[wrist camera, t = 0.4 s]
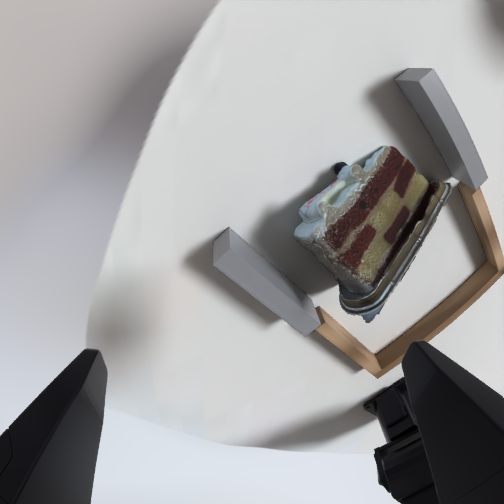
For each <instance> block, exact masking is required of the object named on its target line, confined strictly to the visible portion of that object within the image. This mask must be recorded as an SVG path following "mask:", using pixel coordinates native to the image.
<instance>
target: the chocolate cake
mask: <svg viewBox="0 0 504 504" xmlns="http://www.w3.org/2000/svg"><path fill="white" fill-rule="evenodd" d="M334 171H335V173H336V175H337V180H336V181H335V182H333V183H332V184H331V185H329V186H328V187H327V188H326V189H324V190H323V191H322V192H320V193H319V194H317V195H316V196H314V197H313V198H311V199H310V200H309V201H307V202H306V203H305V204H304V205H303V206H301V208H300V209H299V215H300V217H301V218H302V220H303V221H302V223H301V224H299V225H298V226H297V227H296V229H295V231H294V238H295V239H296V240H297V241H298V242H299V243H300V244H301V245H302V246H303V247H305V248H306V249H307V250H310V251H311V252H312V253H313V254H314V255H315V256H316V257H317V258H318V259H319V261H320V262H321V263H322V264H324V265H325V266H326V268H327V269H329V270H330V271H331V272H332V273H333V274H334V275H335V279H336V280H337V281H338V283H339V291H340V295H339V300H340V305H341V307H342V309H343V310H344V311H345V312H347V314H351V315H361V316H362V317H363V320H365V322H366V323H370V322H371V321H372V320H373V319H374V318H375V315H376V314H379V313H380V311H381V309H382V307H383V306H384V304H385V302H386V301H387V299H388V297H389V296H390V294H391V293H392V292H393V291H394V289H395V287H396V286H397V285H398V283H399V281H400V282H401V280H402V278H403V276H404V275H405V273H406V272H407V270H408V269H409V267H410V265H411V263H412V261H413V260H414V259H415V257H416V256H415V255H416V254H417V252H418V251H419V249H420V247H421V246H422V243H423V242H424V239H425V238H426V236H427V235H428V233H429V232H430V230H431V229H432V227H433V225H434V223H435V222H436V220H437V218H436V217H437V216H438V214H439V212H440V210H441V208H442V206H444V205H445V204H446V202H447V200H448V197H449V195H450V194H451V193H452V191H451V190H452V185H451V183H447V182H446V183H443V182H442V181H440V180H439V179H435V180H434V181H431V182H429V183H428V181H427V180H426V179H425V178H424V176H423V175H421V174H418V173H417V172H416V170H415V167H414V166H413V165H412V164H411V163H410V162H409V160H408V159H407V158H405V157H404V156H402V154H401V153H400V152H399V151H398V150H397V149H396V148H395V147H392V146H383V147H382V148H381V149H380V150H379V151H377V152H375V153H374V155H373V156H372V158H370V159H367V160H366V163H365V166H364V168H363V169H362V167H361V166H359V165H357V164H355V165H353V166H352V167H351V166H349V165H347V164H346V163H344V162H340V163H338V164H336V166H335V167H334Z"/></svg>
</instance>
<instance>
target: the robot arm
mask: <svg viewBox="0 0 504 504" xmlns="http://www.w3.org/2000/svg"><path fill="white" fill-rule="evenodd" d="M402 369H403V373H404V377H405V378H404V379H402V380H401V381H399V382H398V383H396V384H395V385H393V386H392V387H390V388H389V389H387V390H386V391H384V392H383V393H381V394H380V395H378V396H377V397H375V398H374V399H372V400H370V401H369V402H367V403H366V404H364V406H363V407H364V409H365V410H367V411H369V412H370V413H372V414H374V415H376V416H377V418H378V420H379V423H380V425H381V428H382V431H383V433H384V436H385V439H386V441H387V444H385V445H383V446H381V447H378V448H376V449H374V450H375V454H374V458H375V461H376V464H377V470H378V482H379V484H380V485H382V486H384V487H385V489H386V490H387V491H388V492H389V493H391V495H392V497H393V498H394V499H396V500H397V501H398V502H400V503H401V504H504V398H503V396H501V395H500V394H498V393H497V392H496V391H494V390H493V389H492V388H490V387H489V386H488V385H486V384H485V383H483V382H482V381H481V380H479V379H478V378H477V377H475V376H474V375H472V374H471V373H470V372H468V371H467V370H465V369H464V368H463V367H461V366H460V365H458V364H457V363H456V362H454V361H453V360H451V359H450V358H449V357H447V356H446V355H444V354H443V353H442V352H440V351H439V350H437V349H436V348H434V347H433V346H432V345H430V344H429V343H427V342H426V341H424V340H418V341H413V342H411V343H410V345H409V347H408V349H407V351H406V353H405V355H404V357H403V359H402ZM106 385H107V368H106V365H105V362H104V360H103V357H102V354H101V352H100V351H99V350H97V349H85V350H83V351H82V352H81V353H80V354H79V355H78V356H77V357H76V358H75V359H74V360H73V361H72V362H71V363H70V364H69V365H68V366H67V367H66V368H65V369H64V370H63V371H62V372H61V373H60V374H59V375H58V376H57V377H56V378H55V379H54V380H53V381H52V382H51V383H50V384H49V385H48V386H47V387H46V388H45V389H44V390H43V391H42V392H41V393H40V394H39V396H38V397H37V398H36V399H35V400H34V401H33V402H32V403H31V404H30V405H29V406H28V407H27V408H26V409H25V410H24V411H23V412H22V413H21V415H19V416H18V418H17V419H16V420H15V421H14V422H13V423H12V424H11V425H10V426H9V429H6V430H5V431H4V432H3V434H2V435H1V436H0V504H91V495H92V488H93V481H94V473H95V467H96V461H97V454H98V449H99V443H100V437H101V432H102V425H103V418H104V406H105V395H106Z"/></svg>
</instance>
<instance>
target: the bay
mask: <svg viewBox="0 0 504 504" xmlns="http://www.w3.org/2000/svg"><path fill="white" fill-rule="evenodd" d="M395 81H396V83H397V84H398V86H399V87H400V88H401V90H402V91H403V93H404V94H405V96H406V97H407V99H408V100H409V102H410V103H411V105H412V106H413V108H414V110H415V111H416V113H417V114H418V116H419V117H420V119H421V121H422V122H423V124H424V126H425V127H426V129H427V131H428V132H429V134H430V136H431V138H432V139H433V141H434V143H435V145H436V146H437V148H438V150H439V152H440V154H441V156H442V157H443V159H444V161H445V163H446V165H447V167H448V169H449V171H450V173H451V175H452V177H453V178H455V179H457V180H459V181H461V182H462V183H464V184H466V185H468V186H469V187H471V188H473V189H475V190H477V189H478V188H479V187H480V186H481V185H482V184H483V183H484V182H485V181H486V180H487V179H488V176H487V173H486V171H485V168H484V166H483V164H482V161H481V159H480V156H479V154H478V152H477V149H476V147H475V145H474V143H473V141H472V138H471V136H470V134H469V132H468V130H467V128H466V126H465V124H464V122H463V120H462V118H461V116H460V114H459V112H458V110H457V108H456V106H455V104H454V103H453V101H452V99H451V97H450V95H449V94H448V92H447V90H446V88H445V87H444V85H443V83H442V81H441V80H440V78H439V76H438V75H437V73H436V72H435V70H434V69H431V68H408V69H407V70H406V71H404V72H403V73H402V74H401V75H400V76H398V77H397V78H396V79H395ZM213 265H214V266H215V267H216V268H217V269H219V270H220V271H221V272H223V273H224V274H225V275H226V276H228V277H229V278H230V279H231V280H233V281H234V282H235V283H236V284H238V285H239V286H240V287H242V288H243V289H244V290H245V291H247V292H248V293H249V294H250V295H252V296H253V297H254V298H256V299H257V300H258V301H259V302H261V303H262V304H263V305H265V306H266V307H267V308H268V309H270V310H271V311H272V312H274V313H275V314H276V315H278V316H279V317H280V318H282V319H283V320H284V321H285V322H287V323H288V324H289V325H291V326H292V327H293V328H295V329H296V330H297V331H299V332H300V333H301V334H303V335H304V336H306V335H308V334H309V333H311V332H312V331H313V330H315V329H316V328H317V327H319V326H320V325H321V323H320V320H319V318H318V315H317V312H316V310H315V307H314V304H313V302H312V299H310V298H309V297H308V296H307V295H306V294H305V293H304V292H302V291H301V290H300V289H299V288H298V287H297V286H296V285H295V284H293V283H292V282H291V281H290V280H289V279H288V278H287V277H285V276H284V275H283V274H282V273H281V272H280V271H279V270H277V269H276V268H275V267H274V266H273V265H272V264H271V263H270V262H268V261H267V260H266V259H265V258H264V257H263V256H262V255H260V254H259V253H258V252H257V251H256V250H255V249H254V248H252V247H251V246H250V245H249V244H248V243H247V242H246V241H244V240H243V239H242V238H241V237H240V236H239V235H238V234H236V233H235V232H234V231H233V230H232V229H231V228H230V227H229V228H227V229H226V230H225V231H224V232H223V233H222V234H221V235H220V236H219V237H218V238H217V239H216V240H215V241H214V245H213Z"/></svg>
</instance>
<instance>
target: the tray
mask: <svg viewBox="0 0 504 504" xmlns="http://www.w3.org/2000/svg"><path fill="white" fill-rule="evenodd" d="M457 187H458V189H459V192H460V194H461V196H462V198H463V200H464V203H465V205H466V207H467V209H468V212H469V214H470V216H471V219H472V221H473V224H474V226H475V229H476V231H477V234H478V236H479V239H480V242H481V244H482V247H483V250H484V253H485V255H486V258H487V261H486V262H485V263H484V264H483V265H482V266H481V267H480V268H479V269H478V270H477V271H476V272H475V273H474V274H473V275H472V276H471V277H470V278H469V279H468V280H467V281H466V282H464V283H463V284H462V285H461V286H460V287H459V288H458V289H457V290H456V291H455V292H454V293H452V294H451V295H450V296H449V297H448V298H447V299H446V300H444V301H443V302H442V303H441V304H440V305H439V306H438V307H436V308H435V309H434V310H433V311H432V312H430V313H429V314H428V315H427V316H426V317H424V318H423V319H422V320H421V321H419V322H418V323H417V324H416V325H415V326H413V327H412V328H411V329H409V330H408V331H407V332H406V333H404V334H403V335H402V336H400V337H399V338H398V339H397V340H395V341H394V342H393V343H391V344H390V345H389V346H387V347H386V348H384V349H383V350H382V351H380V352H379V353H378V354H376V355H374V354H373V353H372V352H370V351H369V350H368V349H367V348H366V347H365V346H364V345H363V344H361V343H360V342H359V341H358V340H357V339H356V338H355V337H353V336H352V335H351V334H350V333H349V332H348V331H347V330H346V329H344V328H343V327H342V326H341V325H340V324H339V323H338V322H337V321H335V320H334V319H333V318H332V317H331V316H330V315H329V314H327V313H326V312H325V311H324V310H323V309H322V308H321V307H320V306H319V307H317V308H316V309H315V310H316V312H317V315H318V318H319V320H320V323H321V325H320V326H319V327H317V328H316V329H315V330H316V331H317V332H319V333H320V334H321V335H322V336H324V337H325V338H326V339H327V340H329V341H330V342H331V343H333V344H334V345H335V346H336V347H338V348H339V349H340V350H341V351H343V352H344V353H345V354H346V355H348V356H349V357H350V358H352V359H353V360H354V361H355V362H357V363H358V364H359V365H361V366H362V367H363V368H364V369H366V370H367V371H368V372H369V373H371V374H372V375H373V376H375V377H376V378H377V379H378V378H380V377H381V376H382V375H384V374H385V373H387V372H388V371H390V370H391V369H393V368H394V367H395V366H397V365H398V364H400V363H401V362H402V359H403V357H404V355H405V353H406V351H407V349H408V347H409V345H410V343H411V342H413V341H418V340H424V341H426V342H429V341H430V340H431V339H432V338H434V337H435V336H436V335H437V334H439V333H440V332H441V331H442V330H443V329H445V328H446V327H447V326H448V325H449V324H451V323H452V322H453V321H454V320H455V319H456V318H458V317H459V316H460V315H461V314H462V313H463V312H464V311H465V310H467V309H468V308H469V307H470V306H471V305H472V304H473V303H474V302H475V301H476V300H477V299H479V298H480V297H481V296H482V295H483V294H484V293H485V292H486V291H487V290H488V289H489V288H490V287H491V286H492V285H493V284H494V283H495V282H496V281H497V280H498V279H499V278H500V277H501V276H502V275H503V274H504V257H503V254H502V250H501V247H500V243H499V240H498V237H497V233H496V230H495V227H494V224H493V221H492V218H491V215H490V213H489V210H488V207H487V204H486V202H485V199H484V196H483V194H482V191H481V189H480V187H479V188H478V189H477V190H475V189H473V188H471V187H469V186H468V185H466V184H464V183H462V182H461V183H460V184H459V185H458V186H457Z"/></svg>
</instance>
